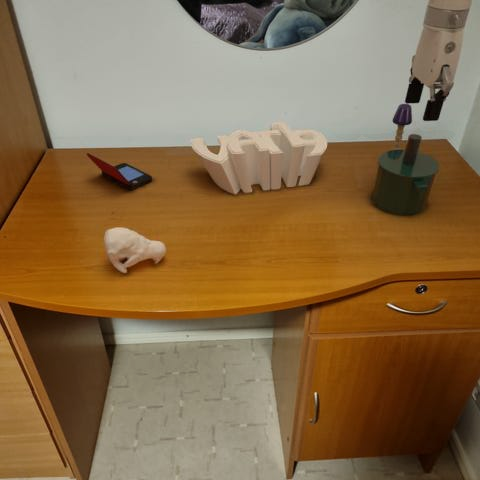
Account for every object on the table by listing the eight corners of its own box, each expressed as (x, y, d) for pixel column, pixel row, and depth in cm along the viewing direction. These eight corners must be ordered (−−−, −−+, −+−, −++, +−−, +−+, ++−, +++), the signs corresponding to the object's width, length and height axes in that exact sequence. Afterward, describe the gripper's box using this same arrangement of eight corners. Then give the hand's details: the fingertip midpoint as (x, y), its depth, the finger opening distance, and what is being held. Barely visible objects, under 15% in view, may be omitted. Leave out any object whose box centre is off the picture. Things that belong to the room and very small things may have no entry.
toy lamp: (380, 171, 128) (394, 107, 116) (383, 164, 131) (397, 100, 119) (398, 175, 126) (414, 110, 115) (401, 167, 130) (417, 103, 118)
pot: (409, 181, 124) (418, 146, 117) (438, 219, 111) (451, 181, 104) (361, 184, 123) (368, 148, 116) (386, 223, 110) (395, 185, 103)
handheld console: (154, 181, 124) (150, 153, 119) (120, 196, 118) (115, 168, 113) (125, 165, 130) (120, 138, 125) (91, 179, 124) (84, 152, 119)
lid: (423, 152, 116) (431, 122, 111) (448, 179, 106) (458, 148, 101) (369, 155, 115) (375, 125, 110) (389, 183, 105) (396, 151, 100)
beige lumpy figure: (101, 221, 94) (163, 218, 97) (106, 257, 100) (164, 253, 103) (103, 239, 90) (167, 236, 93) (107, 276, 95) (168, 271, 98)
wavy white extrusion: (199, 198, 118) (197, 157, 110) (190, 167, 129) (187, 128, 122) (335, 184, 123) (341, 143, 116) (315, 155, 134) (319, 117, 127)
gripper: (487, 29, 84) (455, 127, 96) (444, 7, 97) (421, 96, 108) (446, 30, 83) (419, 128, 95) (408, 8, 96) (389, 97, 108)
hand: (420, 111), depth 102 cm, fingers open, 9 cm apart
